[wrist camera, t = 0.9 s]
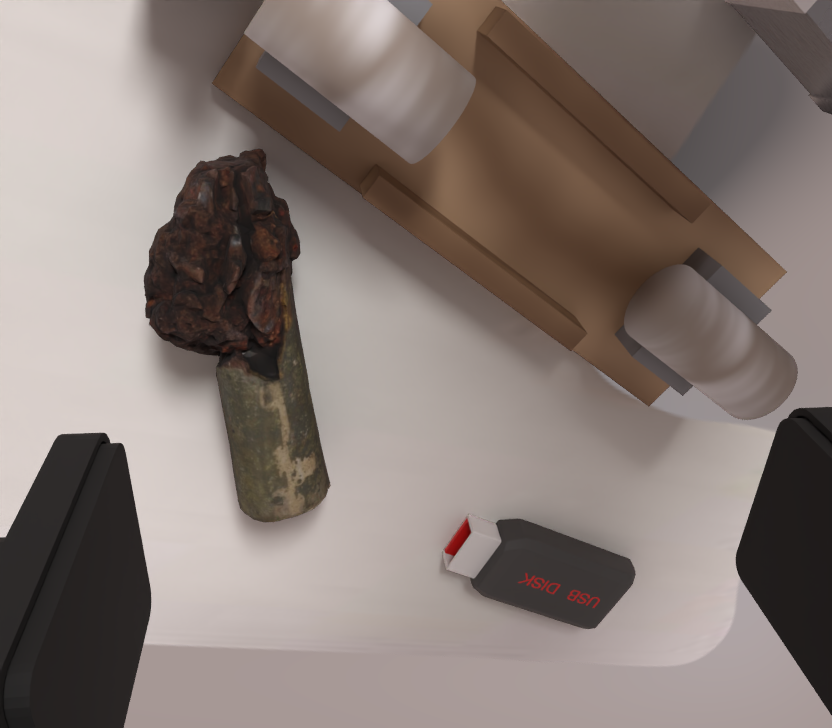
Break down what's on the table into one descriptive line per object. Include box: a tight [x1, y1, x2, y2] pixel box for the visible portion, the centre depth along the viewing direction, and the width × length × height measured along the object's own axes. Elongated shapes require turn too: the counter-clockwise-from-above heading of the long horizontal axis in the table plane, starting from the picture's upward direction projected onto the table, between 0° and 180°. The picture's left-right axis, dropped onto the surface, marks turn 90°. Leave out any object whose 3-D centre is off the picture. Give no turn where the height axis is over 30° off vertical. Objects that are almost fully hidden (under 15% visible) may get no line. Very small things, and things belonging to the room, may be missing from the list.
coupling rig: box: [212, 0, 798, 420], centre depth 33 cm, size 10×28×8 cm, turn 51°
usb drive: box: [442, 514, 635, 629], centre depth 48 cm, size 5×12×3 cm, turn 61°
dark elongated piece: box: [144, 149, 331, 522], centre depth 35 cm, size 18×7×6 cm, turn 3°
